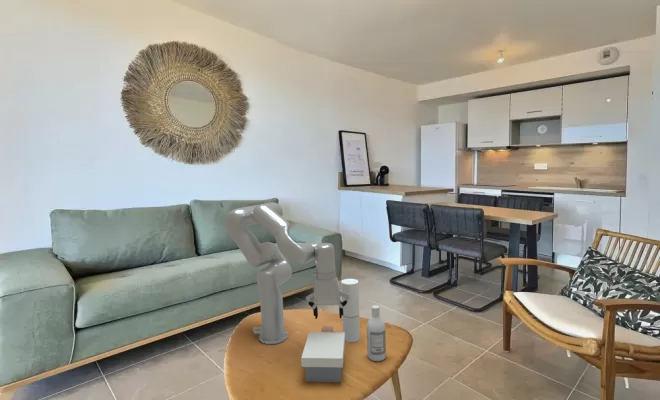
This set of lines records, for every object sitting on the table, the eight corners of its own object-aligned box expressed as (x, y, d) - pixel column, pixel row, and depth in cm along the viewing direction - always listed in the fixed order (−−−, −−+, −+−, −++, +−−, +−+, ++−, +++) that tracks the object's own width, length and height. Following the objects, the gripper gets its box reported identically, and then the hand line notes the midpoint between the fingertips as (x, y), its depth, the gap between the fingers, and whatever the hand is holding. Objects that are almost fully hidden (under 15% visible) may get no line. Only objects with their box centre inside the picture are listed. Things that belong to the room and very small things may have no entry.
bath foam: (389, 358, 129) (388, 307, 127) (374, 363, 126) (372, 312, 124) (379, 350, 135) (378, 301, 133) (364, 354, 132) (362, 305, 130)
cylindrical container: (359, 334, 148) (358, 278, 146) (359, 342, 141) (358, 284, 139) (343, 334, 149) (341, 278, 147) (342, 342, 142) (340, 284, 139)
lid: (342, 367, 114) (342, 358, 114) (301, 366, 115) (301, 357, 115) (345, 333, 137) (345, 326, 136) (311, 333, 138) (310, 326, 138)
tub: (340, 382, 116) (339, 360, 115) (305, 381, 117) (304, 359, 116) (342, 356, 131) (342, 336, 131) (312, 355, 133) (311, 336, 132)
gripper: (302, 278, 130) (305, 321, 131) (347, 277, 128) (350, 320, 130) (305, 272, 137) (308, 313, 139) (348, 271, 136) (350, 312, 137)
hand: (328, 317), depth 134 cm, fingers open, 9 cm apart
